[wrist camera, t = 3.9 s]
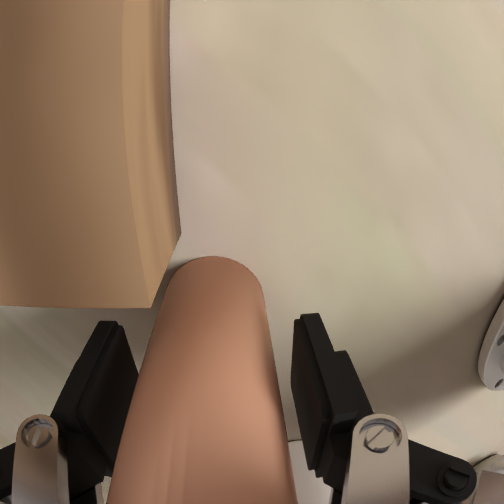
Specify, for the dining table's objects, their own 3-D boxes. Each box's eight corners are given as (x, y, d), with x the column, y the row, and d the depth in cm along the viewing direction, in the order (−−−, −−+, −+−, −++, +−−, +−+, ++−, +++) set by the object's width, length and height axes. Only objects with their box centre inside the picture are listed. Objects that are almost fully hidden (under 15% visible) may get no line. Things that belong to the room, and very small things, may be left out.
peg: (262, 253, 12) (339, 641, 1) (264, 336, 14) (305, 626, 3) (159, 258, 12) (44, 610, 1) (174, 340, 14) (134, 619, 3)
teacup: (485, 471, 30) (501, 504, 23) (434, 496, 29) (449, 534, 22) (528, 421, 24) (552, 459, 17) (477, 451, 24) (501, 497, 17)
